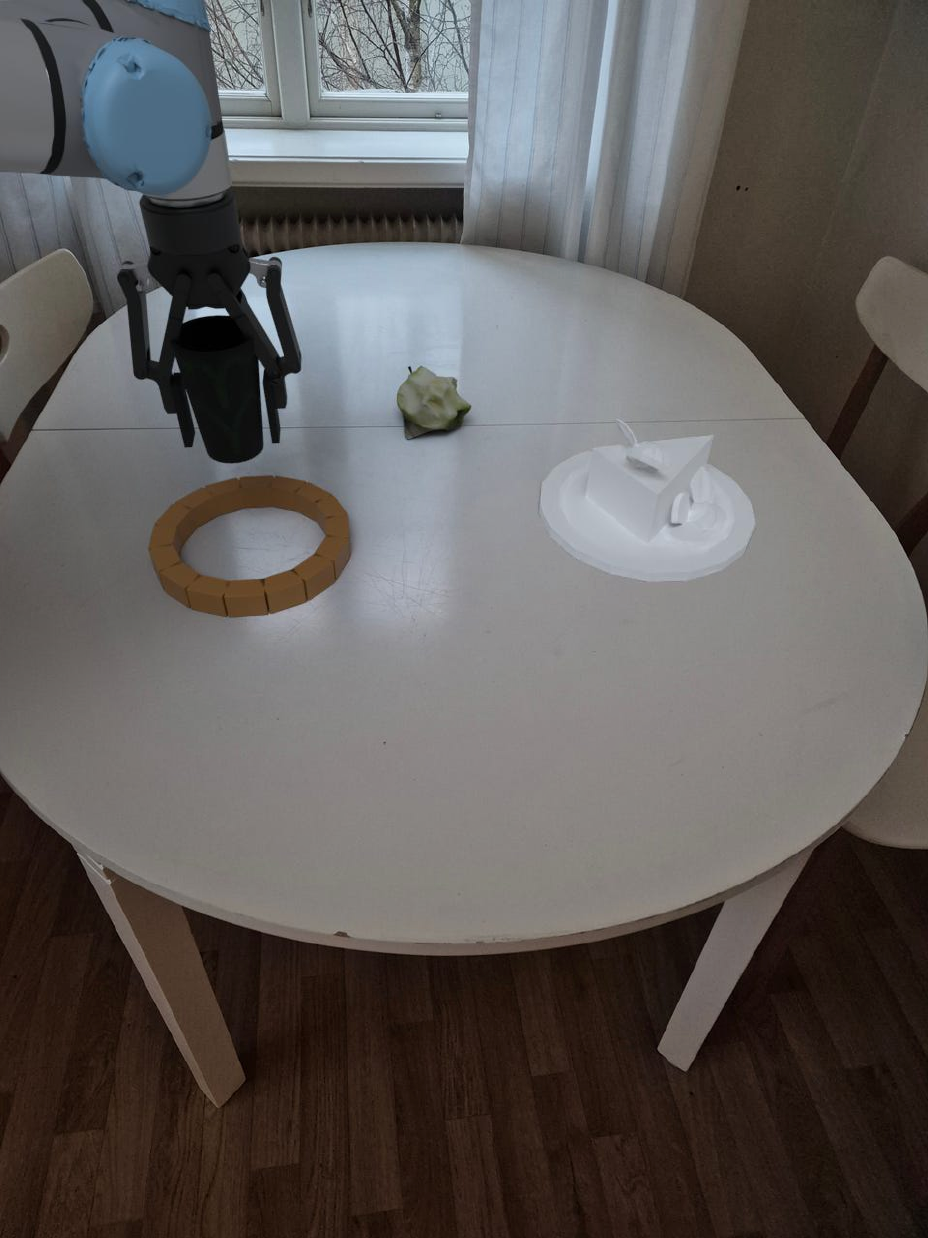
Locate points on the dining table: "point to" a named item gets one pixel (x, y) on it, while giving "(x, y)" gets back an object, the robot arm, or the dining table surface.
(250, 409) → the cup
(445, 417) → the fruit
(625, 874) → the dining table surface
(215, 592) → the orange-brown segmented ring
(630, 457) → the dish
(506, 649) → the dining table surface
